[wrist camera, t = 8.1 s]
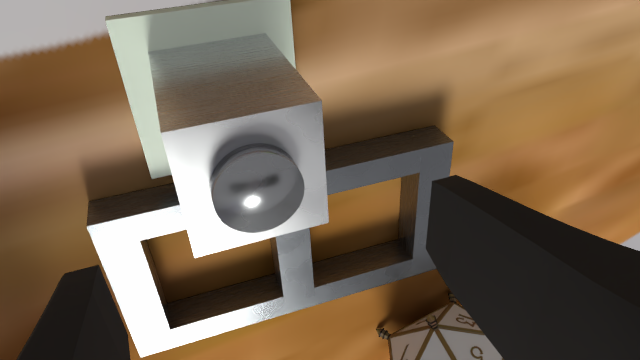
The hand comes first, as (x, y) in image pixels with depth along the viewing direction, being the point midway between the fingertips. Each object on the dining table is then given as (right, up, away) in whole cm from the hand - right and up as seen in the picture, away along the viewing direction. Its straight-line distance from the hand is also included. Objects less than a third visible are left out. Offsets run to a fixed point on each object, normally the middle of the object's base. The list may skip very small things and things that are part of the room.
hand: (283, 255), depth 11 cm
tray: (-3, +5, +8) cm, 10 cm away
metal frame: (-1, -1, +12) cm, 12 cm away
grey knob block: (-3, +5, +7) cm, 9 cm away
